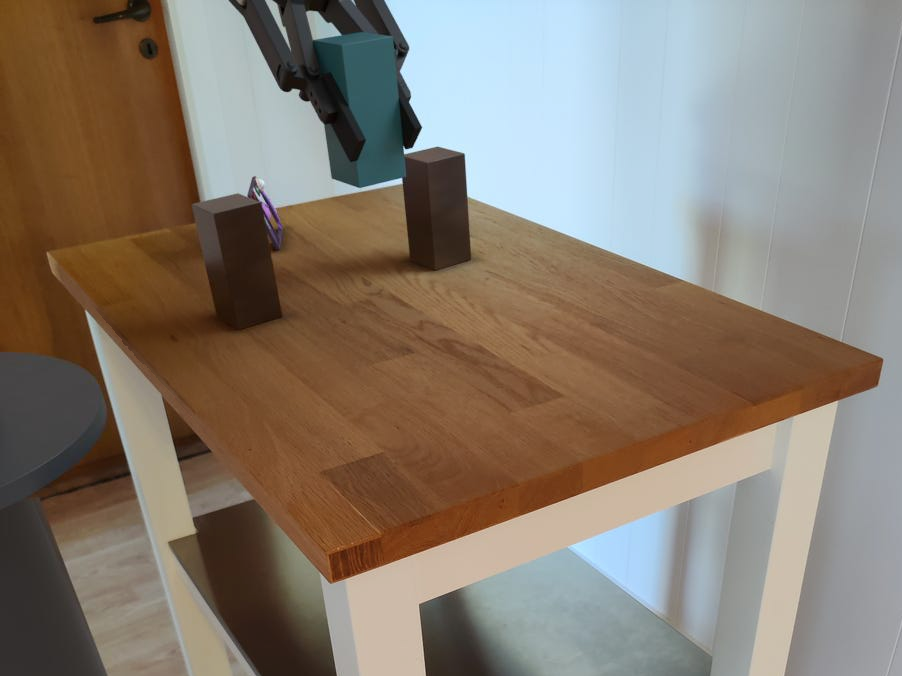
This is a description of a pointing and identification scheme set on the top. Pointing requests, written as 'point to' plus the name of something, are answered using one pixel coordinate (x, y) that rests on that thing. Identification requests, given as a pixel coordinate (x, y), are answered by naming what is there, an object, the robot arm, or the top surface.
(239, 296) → the walnut block front
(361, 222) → the top surface
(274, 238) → the purple open frame
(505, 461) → the top surface
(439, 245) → the walnut block back
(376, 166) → the teal block
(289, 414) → the top surface
